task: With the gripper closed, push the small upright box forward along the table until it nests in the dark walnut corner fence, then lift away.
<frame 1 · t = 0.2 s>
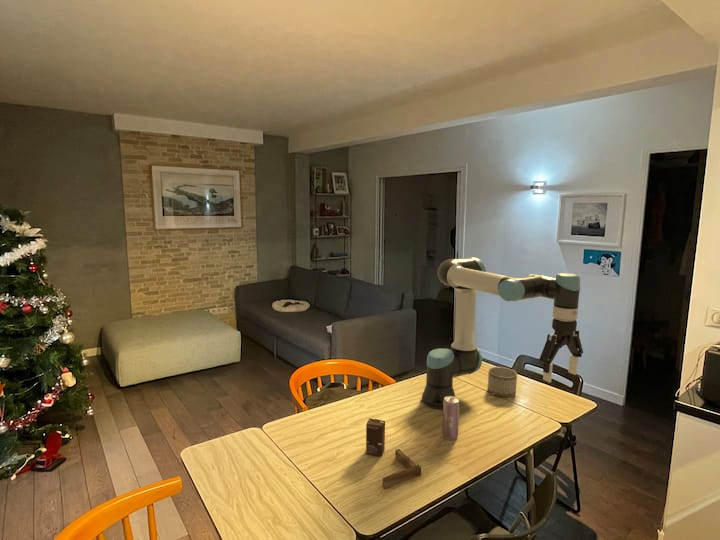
hand: (559, 377, 143), 28 cm above the table, fingers open, 13 cm apart
beverage can: (450, 436, 156), on the table
corner fence: (397, 475, 133), on the table
box: (375, 453, 145), on the table
planter: (501, 393, 193), on the table
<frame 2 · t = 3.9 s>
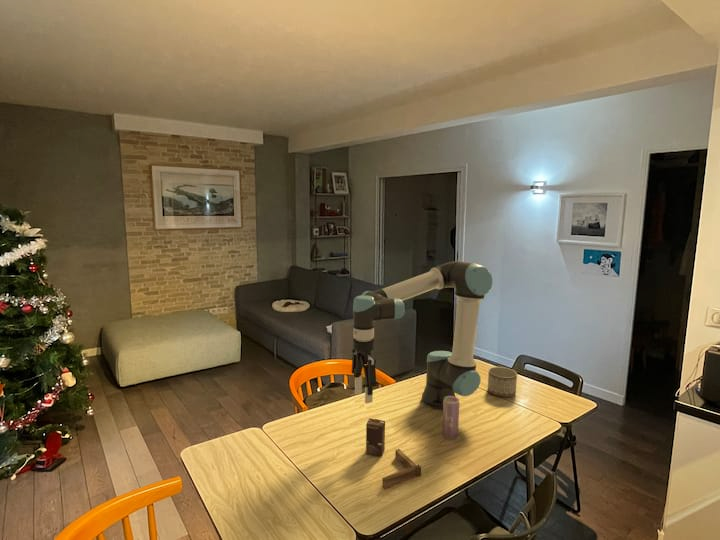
hand: (363, 397, 150), 17 cm above the table, fingers open, 7 cm apart
nothing on the table moved.
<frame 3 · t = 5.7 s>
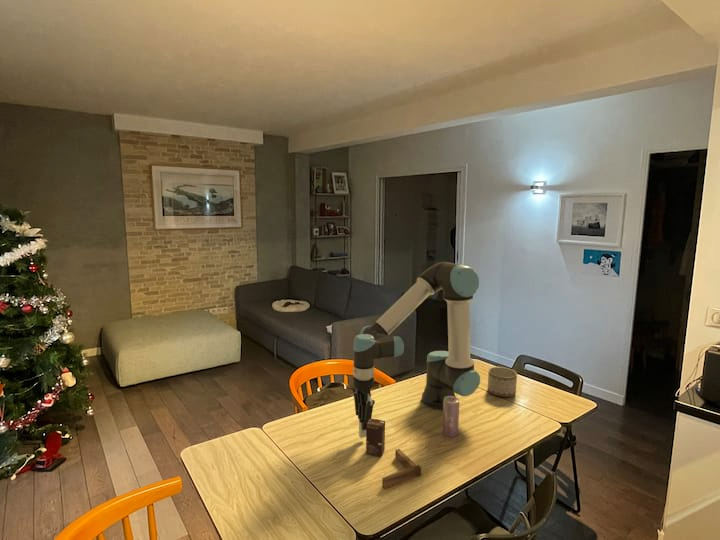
hand: (363, 436, 153), 2 cm above the table, fingers closed
nothing on the table moved.
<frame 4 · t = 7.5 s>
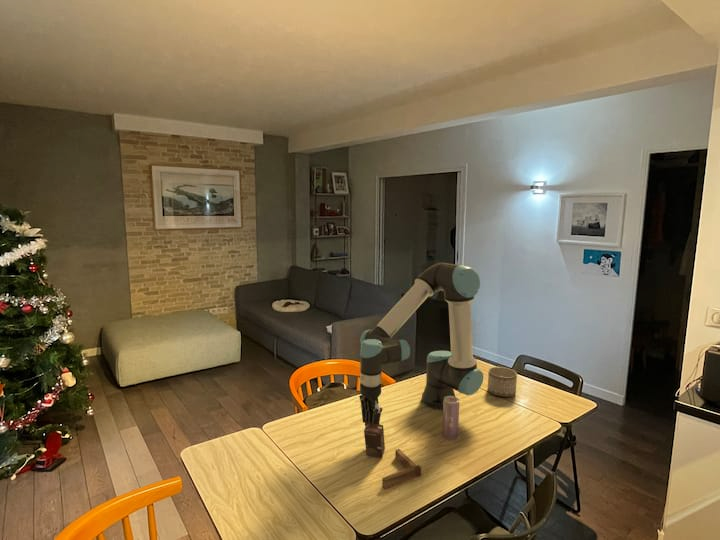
hand: (370, 444, 148), 2 cm above the table, fingers closed
box: (375, 453, 145), on the table, touching gripper, hand
everything else where it was.
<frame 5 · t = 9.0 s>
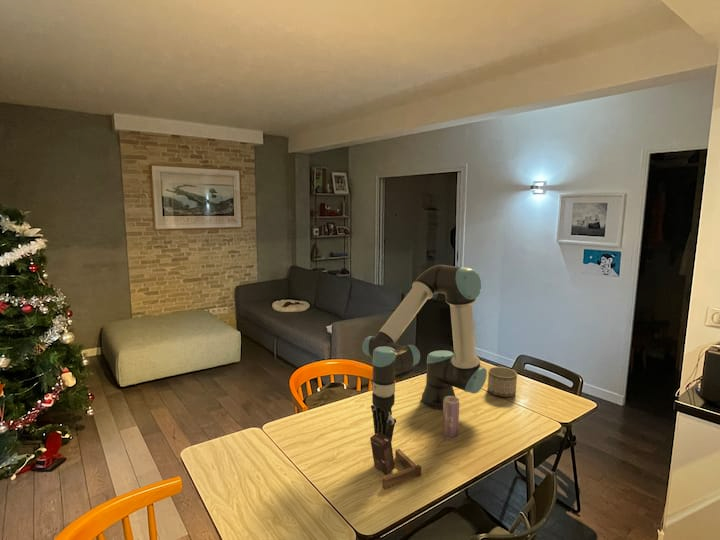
hand: (382, 456, 141), 2 cm above the table, fingers closed
box: (384, 468, 137), on the table, touching gripper, hand
everything else where it was.
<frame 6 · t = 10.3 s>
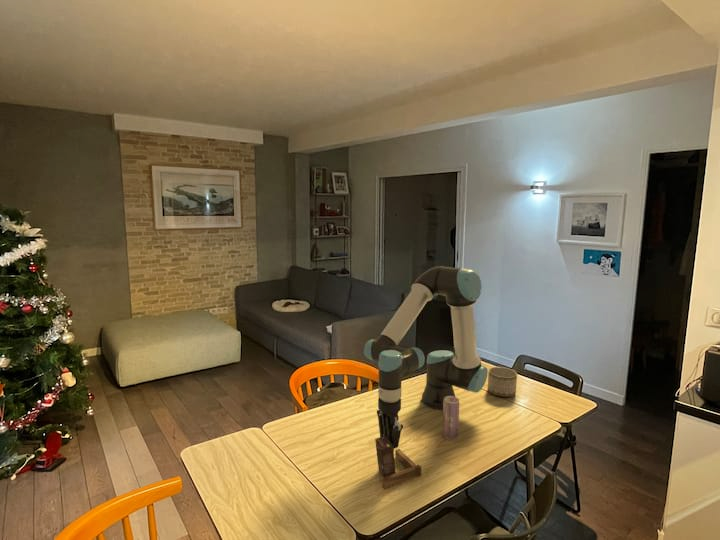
hand: (388, 463, 137), 1 cm above the table, fingers closed
box: (387, 475, 133), on the table, touching gripper
everything else where it was.
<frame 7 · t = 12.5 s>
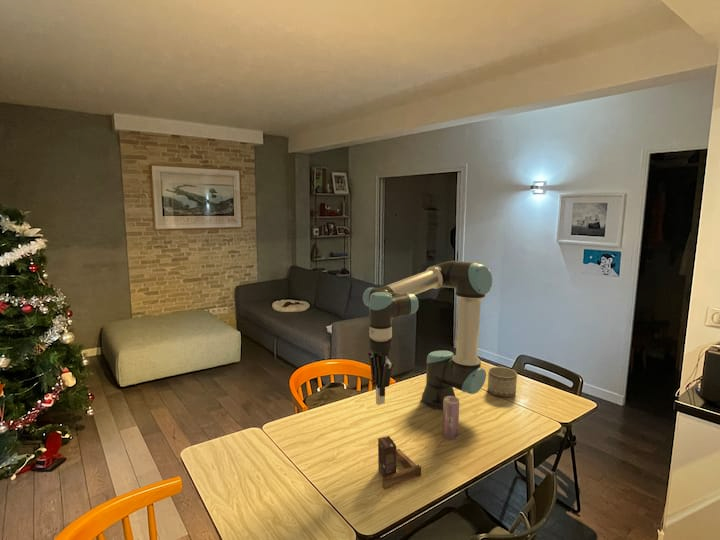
hand: (380, 403, 141), 20 cm above the table, fingers closed
box: (386, 475, 133), on the table
everything else where it was.
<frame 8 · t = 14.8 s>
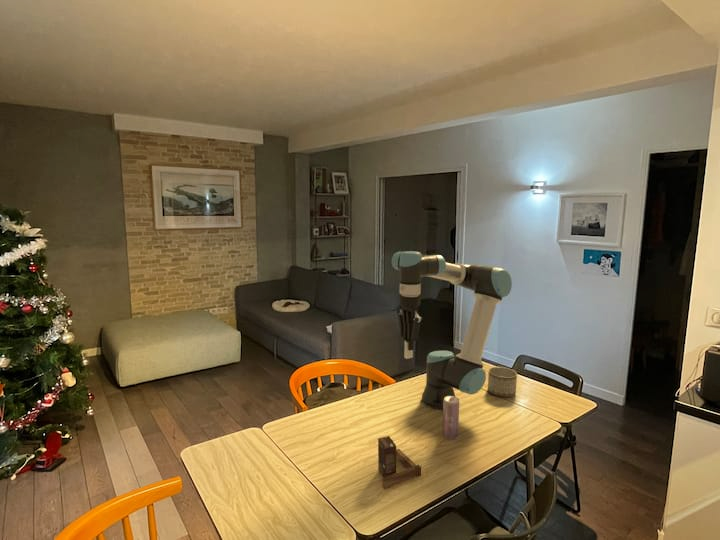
hand: (408, 357, 149), 32 cm above the table, fingers closed
nothing on the table moved.
at the end: box inside the target area (3.0 cm from its centre), on the table; box tilted 0°; box moved 12.6 cm from its start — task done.
